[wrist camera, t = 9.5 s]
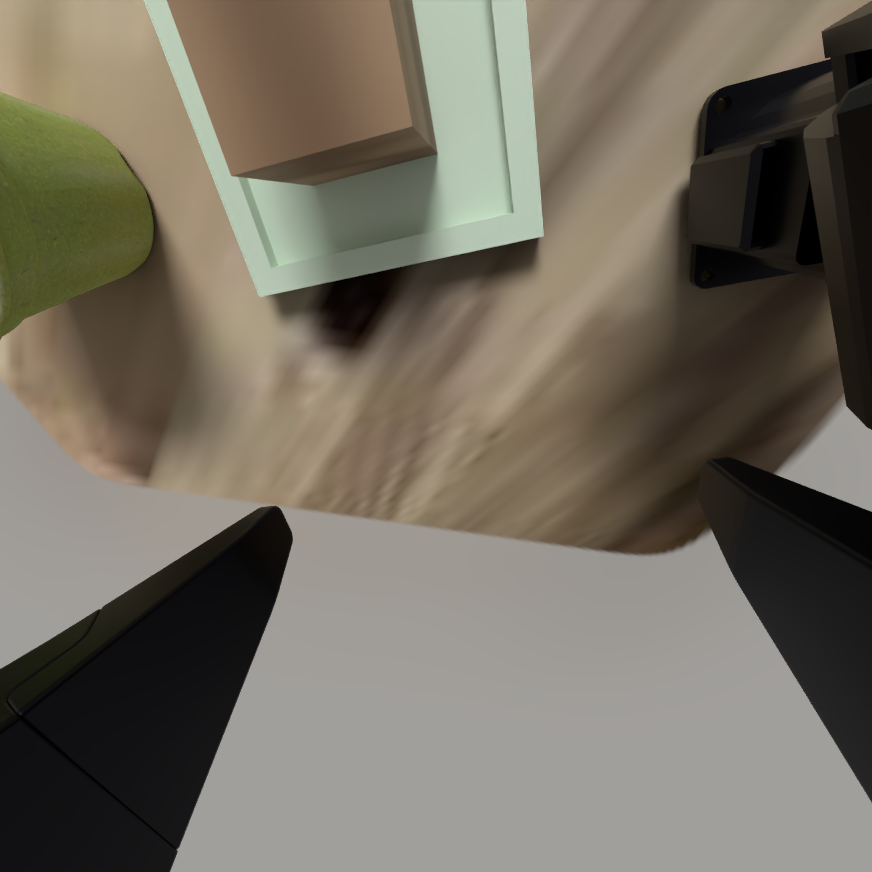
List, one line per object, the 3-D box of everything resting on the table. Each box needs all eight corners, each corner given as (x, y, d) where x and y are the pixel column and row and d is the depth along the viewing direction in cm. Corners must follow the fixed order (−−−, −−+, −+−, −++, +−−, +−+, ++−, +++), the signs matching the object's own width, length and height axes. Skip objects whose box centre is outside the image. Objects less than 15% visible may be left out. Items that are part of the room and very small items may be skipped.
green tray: (500, -240, 11) (502, -297, 10) (539, 234, 17) (543, 236, 16) (137, -82, 14) (100, -112, 12) (274, 291, 19) (259, 297, 18)
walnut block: (406, -34, 13) (353, -195, 8) (437, 154, 15) (412, 126, 10) (264, 16, 14) (130, -98, 9) (313, 186, 16) (231, 176, 11)
